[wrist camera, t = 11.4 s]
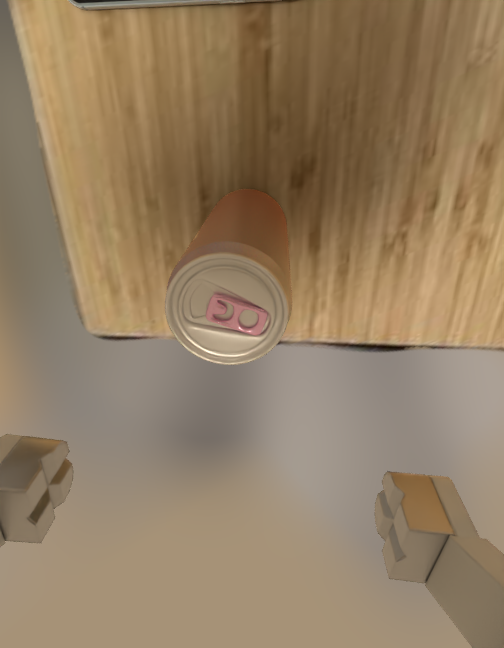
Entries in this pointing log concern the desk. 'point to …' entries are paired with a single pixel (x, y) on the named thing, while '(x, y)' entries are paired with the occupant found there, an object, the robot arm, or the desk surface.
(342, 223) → the desk surface
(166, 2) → the smartphone
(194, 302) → the beverage can
